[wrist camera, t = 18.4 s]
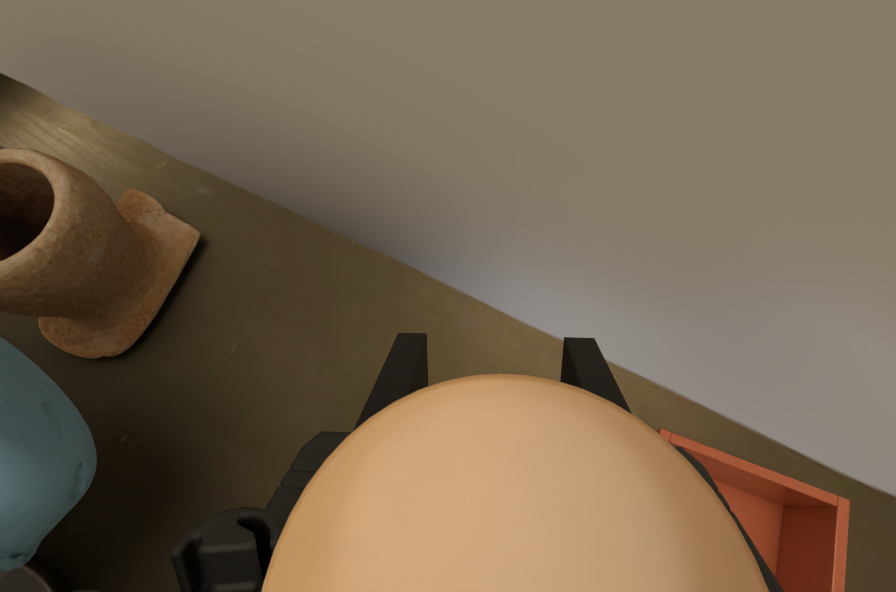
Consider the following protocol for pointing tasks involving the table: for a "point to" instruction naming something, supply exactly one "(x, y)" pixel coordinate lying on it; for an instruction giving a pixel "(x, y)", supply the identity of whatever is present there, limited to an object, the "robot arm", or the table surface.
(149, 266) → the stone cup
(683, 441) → the red square box
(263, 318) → the table surface
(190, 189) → the table surface
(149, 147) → the table surface
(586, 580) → the wooden peg
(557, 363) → the table surface
